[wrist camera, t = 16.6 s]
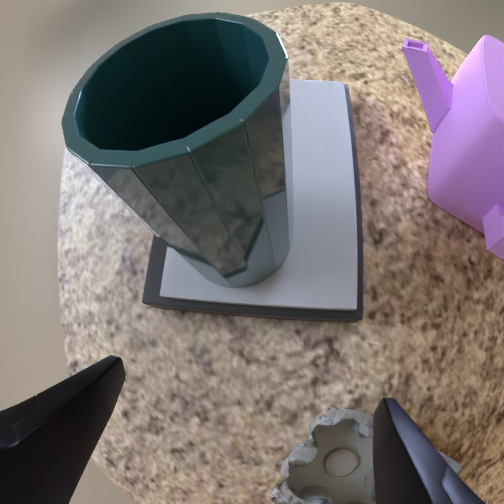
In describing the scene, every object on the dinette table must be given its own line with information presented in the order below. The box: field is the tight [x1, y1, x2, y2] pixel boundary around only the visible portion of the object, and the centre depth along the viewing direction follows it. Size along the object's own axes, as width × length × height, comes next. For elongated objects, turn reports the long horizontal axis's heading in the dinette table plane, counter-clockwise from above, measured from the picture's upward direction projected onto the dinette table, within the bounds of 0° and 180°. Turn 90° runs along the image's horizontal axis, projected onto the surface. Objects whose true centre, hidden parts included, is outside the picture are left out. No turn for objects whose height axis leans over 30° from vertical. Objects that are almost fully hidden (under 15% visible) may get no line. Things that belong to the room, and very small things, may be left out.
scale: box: [142, 80, 363, 322], centre depth 22 cm, size 14×20×3 cm
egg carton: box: [269, 407, 462, 504], centre depth 14 cm, size 11×8×4 cm
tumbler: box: [62, 12, 294, 288], centre depth 14 cm, size 7×7×13 cm
